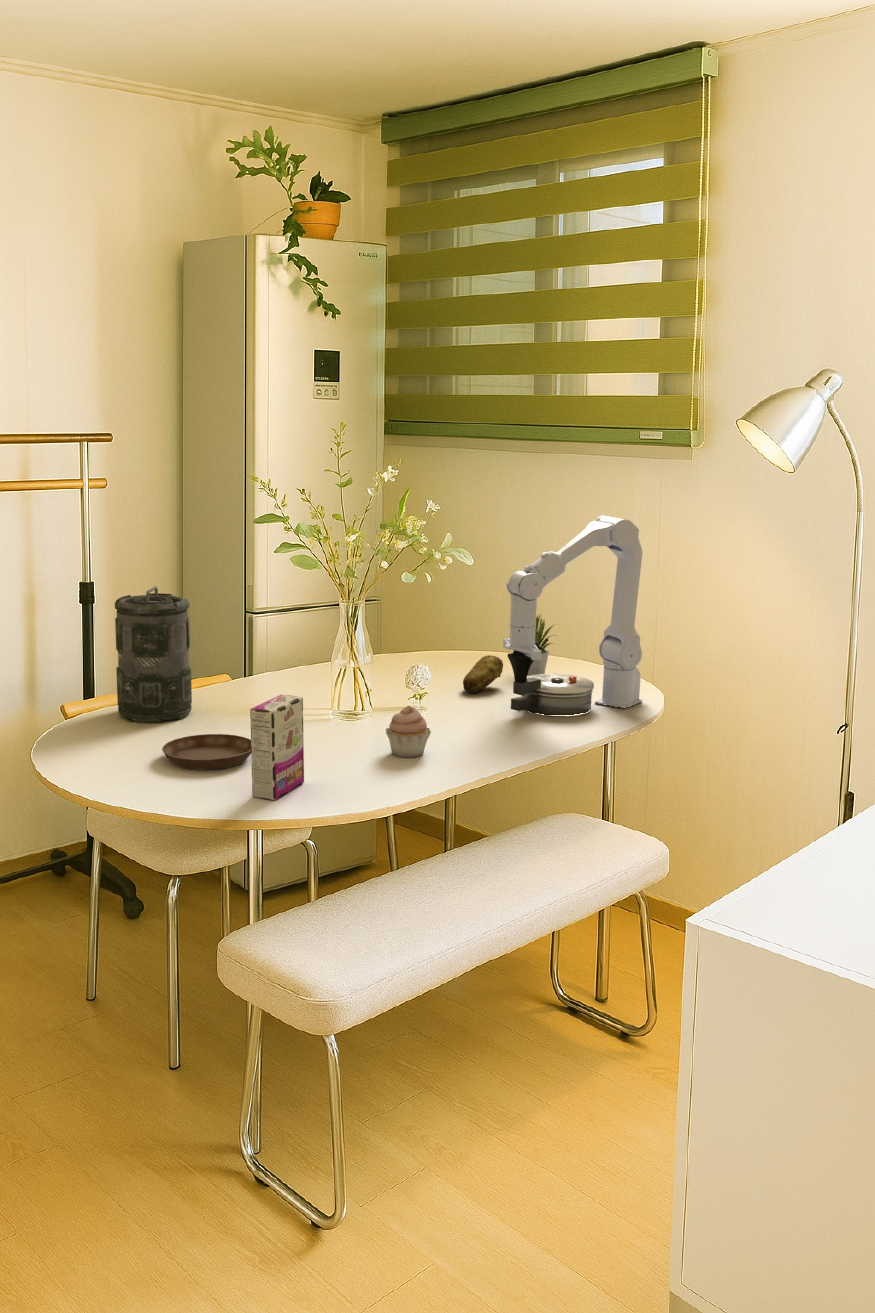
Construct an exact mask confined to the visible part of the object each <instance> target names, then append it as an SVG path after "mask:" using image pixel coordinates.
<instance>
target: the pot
mask: <svg viewBox="0 0 875 1313" xmlns="http://www.w3.org/2000/svg"><path fill="white" fill-rule="evenodd" d="M593 691H594V689H593V690H591V691H589V692H585V693H580V694H547V693H540V692H534V693H529V694H525V695H520V696H517V697H512V698H510V709H511V710H513V711H517V712H522V711H525V710H526V711H525V712H527V711H529V712H528V713H530V712H531V714H533V713H539V714H544V715H574V714H580V713H586V712H588V711H589V710H590V709H591V710H592V697H593V696H592V694H593Z"/></svg>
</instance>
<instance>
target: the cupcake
mask: <svg viewBox="0 0 875 1313" xmlns="http://www.w3.org/2000/svg"><path fill="white" fill-rule="evenodd" d="M388 725H389V727H387V728H385V734H386V736H387V738H388V741H389V745H390V752H391V753H392V754H393V756H396V757H400V758H405V759H408V758H418V757H420V756H422V755H423V754H424V753H425V749H426V745H427V742H428V739H429V737H430V735H431V733H432V731H431V728H430V727H428V724H427V721H426V719H425V718H424V717H423V716H422V714H421V712H419V710H418V709H416V707H414V706H411V705H407V706H404V708H403V709H401V710H400V712H397V713H394V714H393V715H392V717H391V721H390V723H389V724H388Z"/></svg>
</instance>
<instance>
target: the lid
mask: <svg viewBox="0 0 875 1313" xmlns="http://www.w3.org/2000/svg"><path fill="white" fill-rule="evenodd" d="M512 689H513V690H512V693H513V694H515V695H518V696H522V695H525V694H529V693H534V692H540V693H547V694H580V693H585V692H589V691H591V690H593V691H594V689H595V682H594V681H592V680H591V679H588V678H587V677H582V676H579V675H573V674H566V673H565V674H564V673H545V674H536V675H530V676H527V679H523V680H518V681H515V680H514V681H513V688H512Z"/></svg>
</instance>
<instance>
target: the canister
mask: <svg viewBox="0 0 875 1313" xmlns="http://www.w3.org/2000/svg"><path fill="white" fill-rule="evenodd" d="M158 589H159V588H158V586H157V585H156V586H152V587H151V588H150V589H148V590H147V591H146V592H145V594H142V595H141V594H140V595H132V596H131V595H130V594H129V595H124V596H121V597H118V599H116V600H115V602H114V609H115V610H116V617H115V619H114V622H115V623H114V624H115V625H114V626H115V649H116V651H117V660H118V661H117V662H118V664H117V666H116V668H115V669H116V670H115V671H116V694H117V695H116V696H117V698H116V699H117V711H118V712H117V713H119V715H121V716H124V717H125V718H127V719H130V720H133V721H134V722H135V723H145V724H147V723H148V724H150V723H151V724H155V723H156V724H157V723H161V721H163V722H164V721H169V720H175V719H176V720H181V719H183V718H185V717H187V716H189V715H190V713H191V712H192V707H193V706H192V703H193V702H192V701H193V699H192V698H193V697H192V693H193V691H192V668H191V667H190V653H189V652H190V651H189V650H190V649H191V632H190V629H191V628H190V626H191V625H190V624H191V623H190V622H191V621H190V617H189V608H190V602H189V600H188V599H187V598H183V597H180V596H176V595H173V594H171V593H159V590H158ZM153 591H154V592H153ZM152 592H153V593H152Z"/></svg>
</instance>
